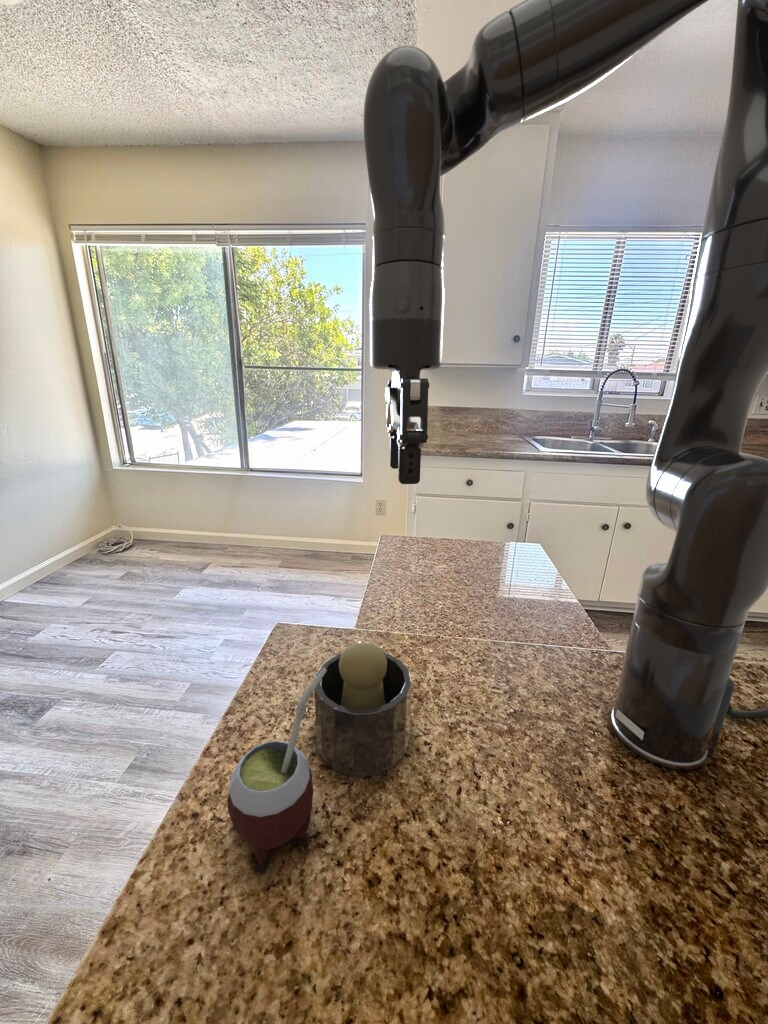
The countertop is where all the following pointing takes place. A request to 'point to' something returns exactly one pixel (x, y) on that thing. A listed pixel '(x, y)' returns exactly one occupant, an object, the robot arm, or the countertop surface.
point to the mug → (363, 722)
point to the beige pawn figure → (363, 676)
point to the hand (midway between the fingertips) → (403, 475)
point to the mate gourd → (273, 792)
